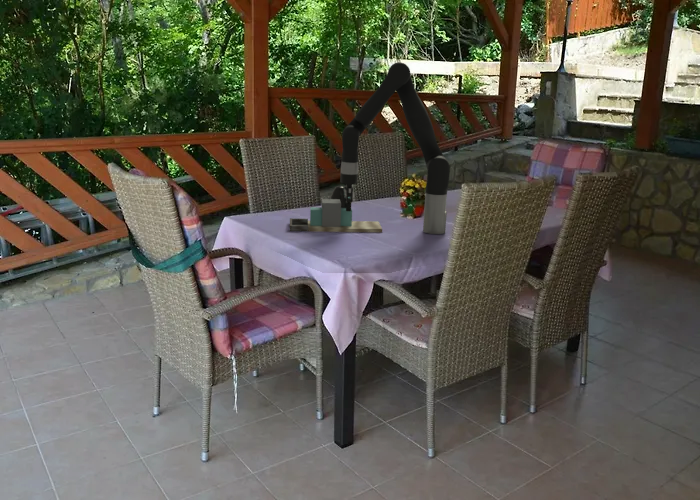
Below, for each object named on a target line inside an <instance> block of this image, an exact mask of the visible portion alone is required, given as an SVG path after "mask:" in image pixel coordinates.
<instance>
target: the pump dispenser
mask: <svg viewBox="0 0 700 500" xmlns="http://www.w3.org/2000/svg"><path fill="white" fill-rule="evenodd" d="M344 187H345V186H342V185H338V186H335V187H334V189H333V191H332V193H331V195H330V198H329V199H340V201H341V208H346V207H345V206H344V204H345V199H346V198H344Z"/></svg>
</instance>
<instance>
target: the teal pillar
mask: <svg viewBox="0 0 700 500" xmlns="http://www.w3.org/2000/svg"><path fill="white" fill-rule="evenodd" d="M309 212H310V213H309V215H310V219H309V221H310V226H322V207H310V211H309ZM352 221H353V209H352V208H351V211H346V208H341V226H352Z"/></svg>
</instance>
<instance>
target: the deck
mask: <svg viewBox="0 0 700 500" xmlns="http://www.w3.org/2000/svg"><path fill="white" fill-rule="evenodd" d="M289 232H303V233H304V232H305V233H306V232H308V233H309V232H311V233H312V232H313V233H314V232H315V233H316V232H317V233H318V232H320V233H321V232H323V233H325V232H326V233H328V232H329V233H383V227H382V226H381V223H380V222H379V221H373V220H372V221H370V220H369V221H365V220H363V221H361V220H359V221H358V220H357V221H356V220H352V226H340V227H322V226H310V220H309V218H297V217H295V218H294V217H293V218H289Z"/></svg>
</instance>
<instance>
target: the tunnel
mask: <svg viewBox="0 0 700 500" xmlns="http://www.w3.org/2000/svg"><path fill="white" fill-rule="evenodd" d="M321 208H322V227H340V226H341V201H340V199H330V198H321Z"/></svg>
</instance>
